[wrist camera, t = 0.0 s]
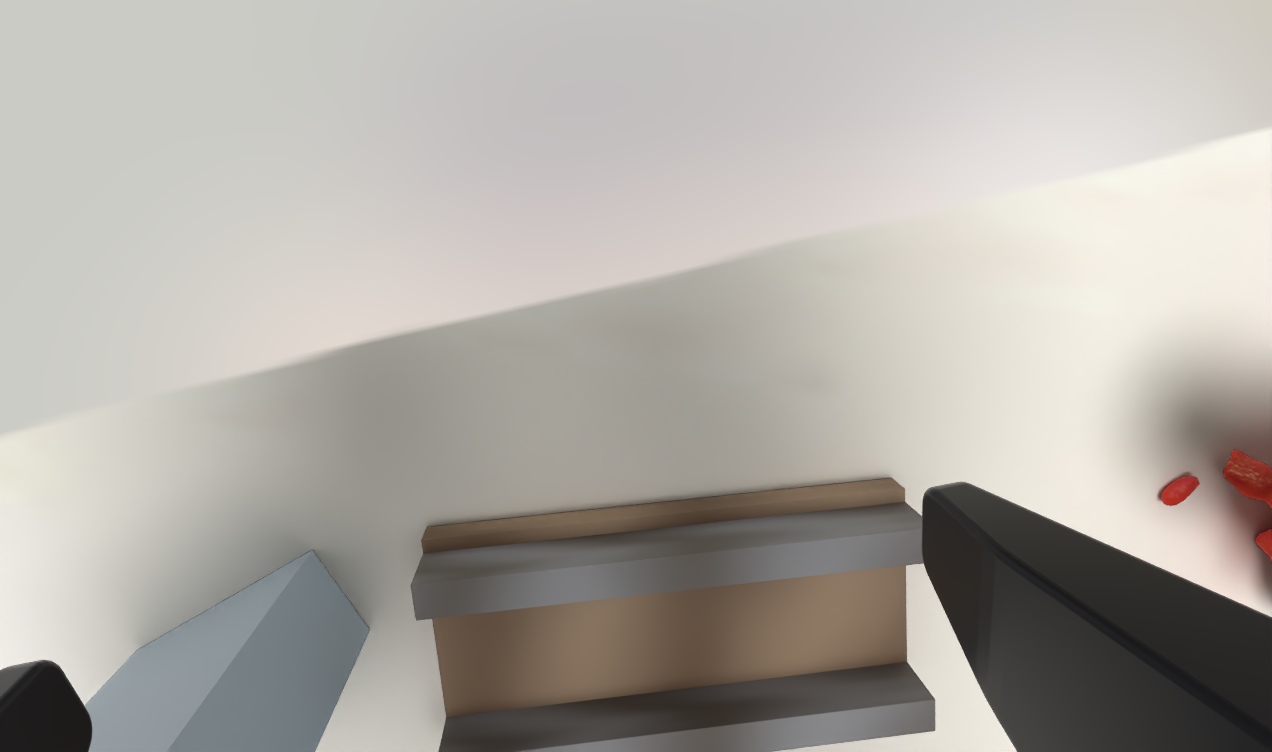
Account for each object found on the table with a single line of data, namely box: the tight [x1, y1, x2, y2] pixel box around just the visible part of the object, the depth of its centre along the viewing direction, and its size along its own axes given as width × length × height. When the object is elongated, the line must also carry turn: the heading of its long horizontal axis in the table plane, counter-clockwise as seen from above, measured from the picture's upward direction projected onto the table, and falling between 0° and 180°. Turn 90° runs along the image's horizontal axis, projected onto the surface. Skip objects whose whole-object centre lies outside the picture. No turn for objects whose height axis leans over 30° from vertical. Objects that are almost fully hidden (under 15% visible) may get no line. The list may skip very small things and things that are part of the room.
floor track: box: [411, 478, 935, 752], centre depth 24 cm, size 14×7×3 cm, turn 95°
